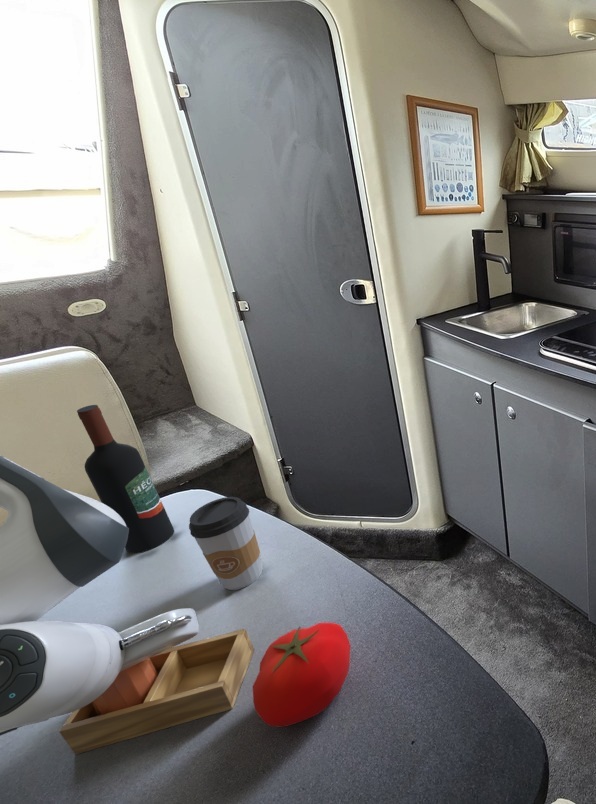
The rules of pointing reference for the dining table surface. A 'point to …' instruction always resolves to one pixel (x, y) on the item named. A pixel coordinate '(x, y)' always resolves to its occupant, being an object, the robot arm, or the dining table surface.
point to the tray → (170, 693)
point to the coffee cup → (228, 541)
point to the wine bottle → (125, 485)
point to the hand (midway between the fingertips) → (112, 664)
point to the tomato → (301, 674)
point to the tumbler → (127, 688)
